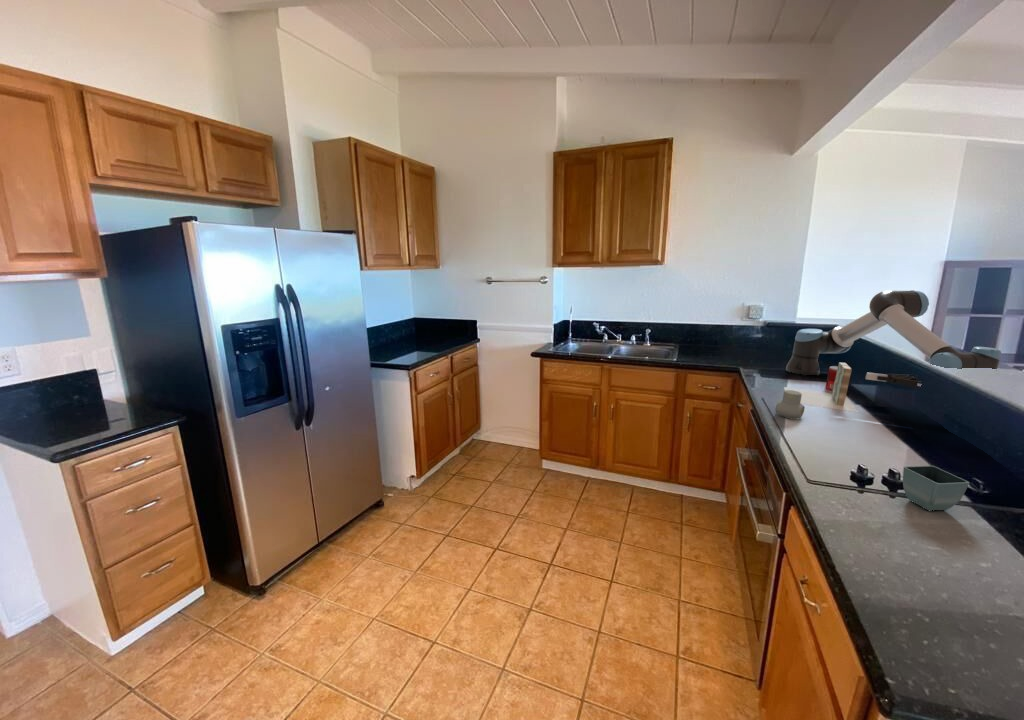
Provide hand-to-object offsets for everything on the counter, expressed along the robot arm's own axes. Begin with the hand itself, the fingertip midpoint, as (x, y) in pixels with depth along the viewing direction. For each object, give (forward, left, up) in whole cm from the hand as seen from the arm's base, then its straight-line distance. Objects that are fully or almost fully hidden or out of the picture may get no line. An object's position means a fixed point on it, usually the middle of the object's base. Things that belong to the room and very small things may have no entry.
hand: (866, 375), depth 178 cm
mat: (-6, -14, -13) cm, 20 cm away
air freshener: (+17, -37, -14) cm, 43 cm away
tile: (-3, -7, -13) cm, 15 cm away
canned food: (-21, +3, -14) cm, 26 cm away
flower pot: (+78, -34, -14) cm, 86 cm away
